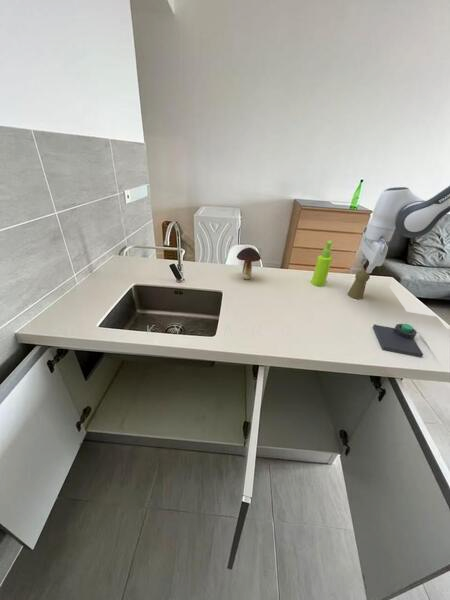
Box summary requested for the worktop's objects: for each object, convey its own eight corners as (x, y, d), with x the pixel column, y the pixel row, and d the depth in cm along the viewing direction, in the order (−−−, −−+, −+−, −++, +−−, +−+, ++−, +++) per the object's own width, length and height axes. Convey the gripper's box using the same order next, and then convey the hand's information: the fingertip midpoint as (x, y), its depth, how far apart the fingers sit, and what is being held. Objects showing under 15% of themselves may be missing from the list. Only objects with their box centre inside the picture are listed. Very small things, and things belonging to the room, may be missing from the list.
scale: (408, 332, 85) (412, 325, 83) (424, 358, 74) (429, 351, 72) (371, 326, 87) (374, 319, 85) (382, 350, 76) (385, 342, 74)
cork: (349, 297, 103) (357, 274, 98) (346, 291, 108) (354, 268, 103) (364, 300, 102) (373, 276, 97) (360, 293, 107) (369, 270, 102)
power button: (409, 328, 82) (411, 324, 81) (412, 333, 80) (414, 330, 79) (399, 326, 83) (401, 322, 82) (402, 331, 80) (404, 328, 79)
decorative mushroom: (230, 278, 113) (232, 247, 105) (243, 271, 121) (246, 242, 113) (250, 286, 108) (254, 254, 100) (262, 278, 115) (266, 247, 108)
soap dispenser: (326, 282, 115) (338, 240, 105) (323, 287, 110) (335, 245, 100) (313, 278, 118) (324, 238, 107) (310, 284, 113) (321, 242, 102)
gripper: (397, 243, 82) (381, 279, 89) (380, 228, 99) (367, 259, 106) (377, 241, 83) (362, 277, 90) (363, 226, 100) (352, 257, 107)
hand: (365, 267), depth 98 cm, fingers open, 8 cm apart
